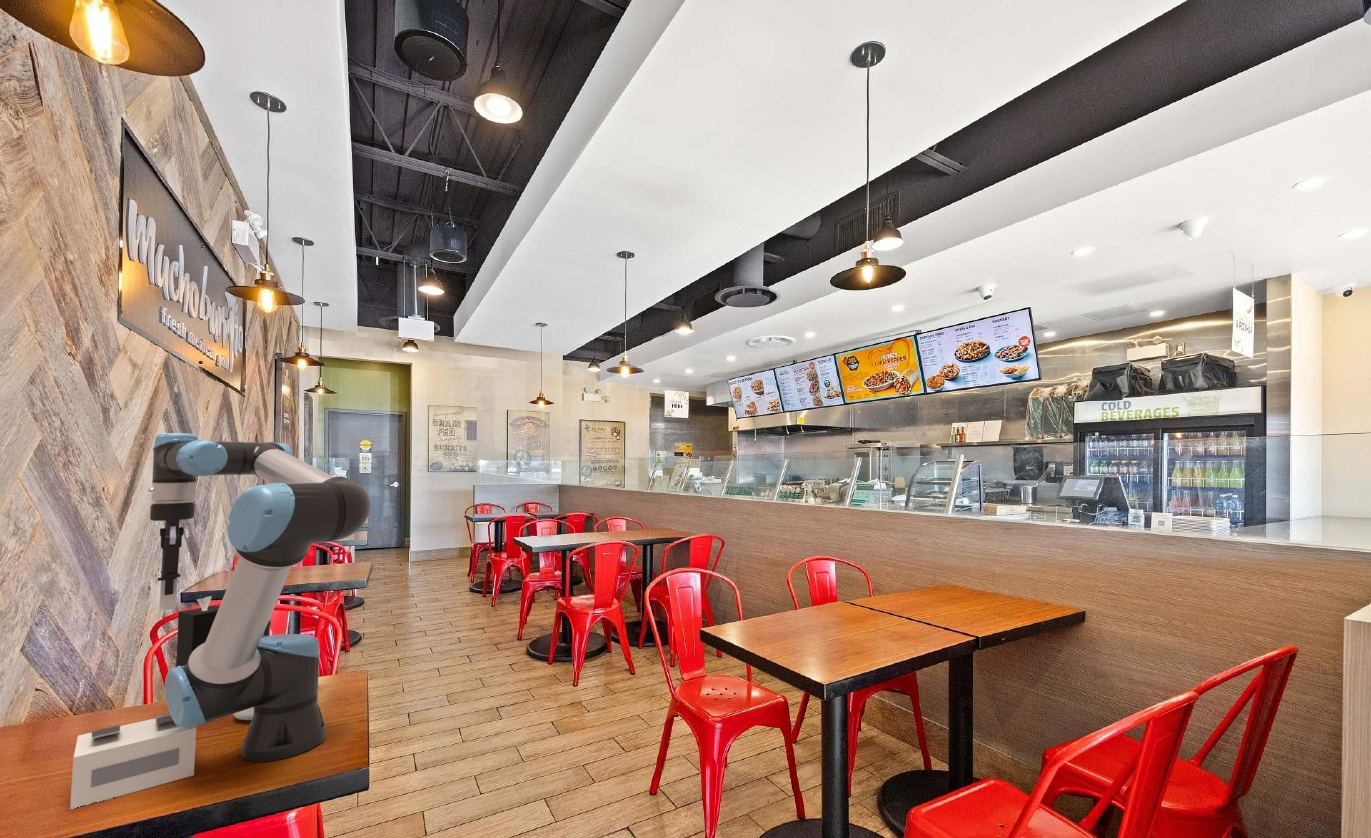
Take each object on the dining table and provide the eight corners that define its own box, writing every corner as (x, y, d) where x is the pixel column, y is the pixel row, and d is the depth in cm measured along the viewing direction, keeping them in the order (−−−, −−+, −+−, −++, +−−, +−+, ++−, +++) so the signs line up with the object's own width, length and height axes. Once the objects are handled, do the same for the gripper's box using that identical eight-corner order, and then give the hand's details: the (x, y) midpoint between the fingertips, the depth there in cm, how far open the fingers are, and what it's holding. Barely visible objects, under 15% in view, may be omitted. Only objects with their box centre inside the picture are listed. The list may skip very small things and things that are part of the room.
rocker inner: (155, 721, 120) (155, 715, 120) (180, 715, 123) (180, 710, 123) (156, 723, 116) (156, 717, 116) (181, 718, 119) (182, 712, 119)
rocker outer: (92, 736, 114) (92, 730, 114) (119, 730, 116) (120, 724, 117) (91, 737, 110) (92, 731, 110) (119, 731, 113) (120, 724, 113)
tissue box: (172, 714, 146) (178, 598, 148) (210, 702, 153) (215, 592, 155) (188, 720, 143) (194, 601, 145) (225, 708, 150) (231, 595, 152)
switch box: (74, 784, 114) (78, 733, 115) (189, 754, 126) (191, 708, 126) (69, 810, 105) (73, 755, 106) (193, 775, 117) (196, 726, 117)
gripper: (150, 501, 135) (144, 607, 134) (151, 504, 126) (145, 617, 124) (192, 500, 141) (187, 601, 139) (197, 502, 131) (191, 611, 129)
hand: (167, 609), depth 131 cm, fingers closed
